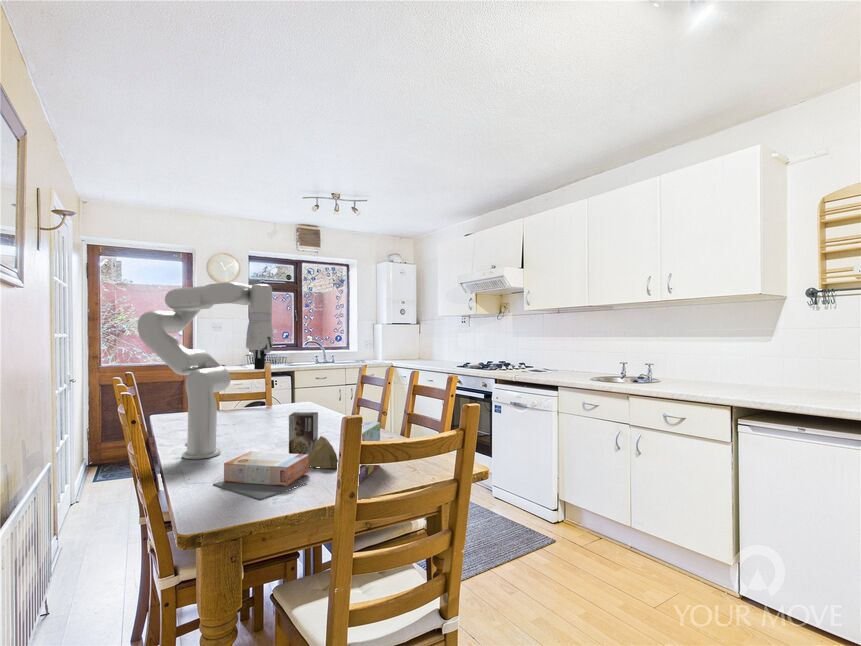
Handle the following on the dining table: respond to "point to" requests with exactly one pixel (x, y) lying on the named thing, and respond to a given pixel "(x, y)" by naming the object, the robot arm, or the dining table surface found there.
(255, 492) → the mat
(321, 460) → the rock
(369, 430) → the snack box
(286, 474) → the cracker box
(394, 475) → the dining table surface
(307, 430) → the coffee box
